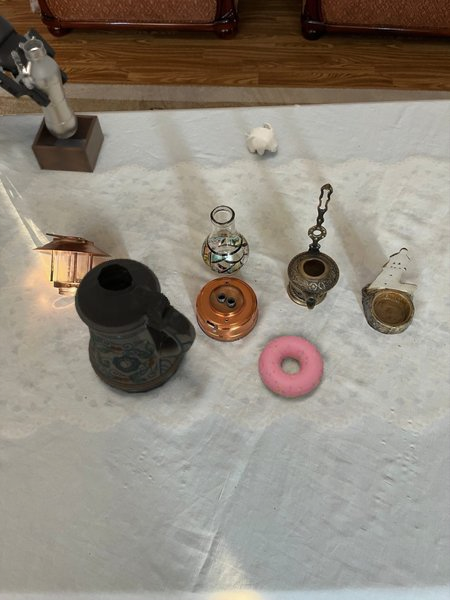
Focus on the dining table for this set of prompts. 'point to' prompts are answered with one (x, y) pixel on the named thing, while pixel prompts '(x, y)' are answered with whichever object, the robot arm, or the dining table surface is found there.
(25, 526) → the dining table surface
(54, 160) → the crate
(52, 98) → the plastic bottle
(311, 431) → the dining table surface
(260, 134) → the elephant figurine
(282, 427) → the dining table surface
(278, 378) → the doughnut
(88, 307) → the dark ceramic jug
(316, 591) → the dining table surface
